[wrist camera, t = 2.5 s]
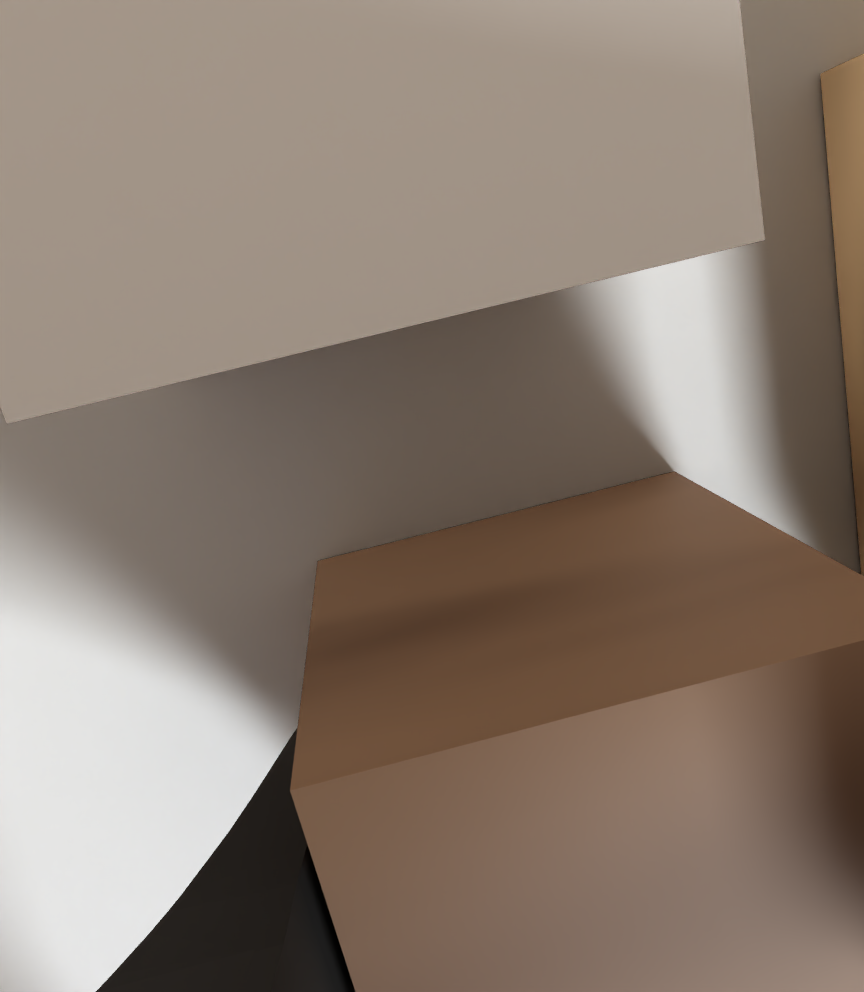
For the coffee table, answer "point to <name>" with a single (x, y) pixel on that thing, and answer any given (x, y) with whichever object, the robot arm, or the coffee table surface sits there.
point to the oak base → (849, 244)
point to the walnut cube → (589, 752)
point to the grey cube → (342, 171)
